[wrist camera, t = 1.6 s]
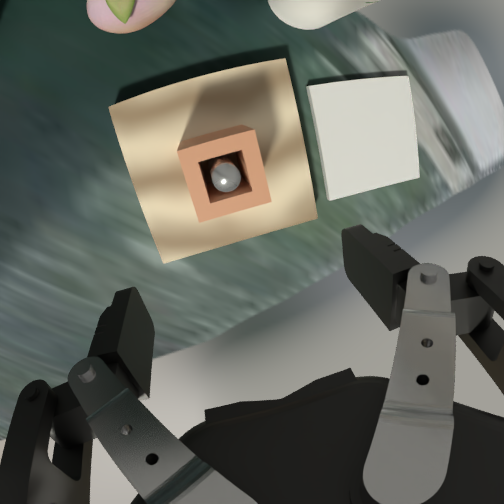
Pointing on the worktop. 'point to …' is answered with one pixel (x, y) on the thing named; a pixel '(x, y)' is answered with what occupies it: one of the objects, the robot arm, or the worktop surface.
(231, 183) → the post
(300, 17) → the cylindrical container
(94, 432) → the robot arm
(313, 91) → the pad
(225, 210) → the collar
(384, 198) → the worktop surface
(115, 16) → the decorative fruit
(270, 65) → the stand base
